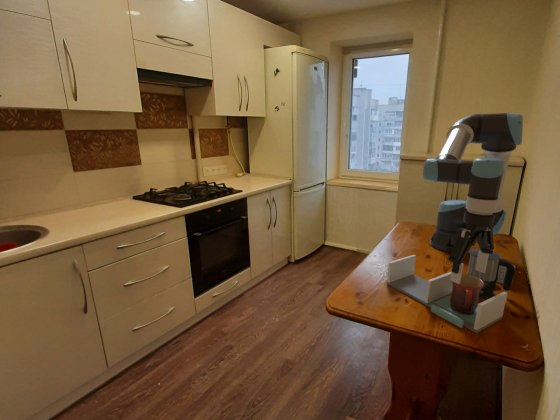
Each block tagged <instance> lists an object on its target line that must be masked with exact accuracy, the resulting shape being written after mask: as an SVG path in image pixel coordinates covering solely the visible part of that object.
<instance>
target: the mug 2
mask: <svg viewBox="0 0 560 420" xmlns="http://www.w3.org/2000/svg"><path fill="white" fill-rule="evenodd" d="M513 266H514V268H515V269H516V267H517V266H516V265H515V264H513ZM506 270H507V268H506V267H505V266H499V271H498V276H497V277H498V280H497V282H496V283H498V284H502V285H503V281H504V277H505V273H506ZM513 281H514V279H513V280H512V282H513Z"/></svg>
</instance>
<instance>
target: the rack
mask: <svg viewBox="0 0 560 420" xmlns="http://www.w3.org/2000/svg"><path fill="white" fill-rule="evenodd" d="M416 259H417V255H415V254H412V255H409V256H405V257H401V258H399V259H398V258H397V259H394V260H392V261H389V262H388V269H387V279H386V285H388V286H390V287H391V288H393V289H396V290H397V291H399V292H401V293H402V294H404V295H406V296H408V297H410V298H411V299H413V300H415V301H418V302H419V303H421V304H423V305H424V306H425V307H428V308H430V312H431V313H433V314H434V315H436V316H439V317H441V319H444V320H446V321H448V322H450V323H451V324H453V325H455V326H457V327H458V328H460V329H463V328H467V329H468V330H470V331H472V332H474V333H475V334H478V333H480V332H481V331H483V330H485V329H487V328H489V327H491V326H492V325H494V324H495V323H497V322H499V321H501V320H502V319H503V315H504V311H505V306H506V303H507V297H508V292H507V291H503V292H500V293H498V294H496V295H493V296H492V297H489V298H488V299H486V300H484V301H482V302H480V303H478V304H477V308H476V311H475V312H474V313H472V314H462V313H459V312H457V311H455V310H454V309H453V308H452V307H451V305H450V298H451V293H452V288H453V284H452V281H451V280H450V277H451V271H449V272H447V273H444V274H441V275H438V276H436V277H433V278H431V279H425V278H422V277H420V276H418V275H417V274H415V267H416Z"/></svg>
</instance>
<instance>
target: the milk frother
mask: <svg viewBox="0 0 560 420" xmlns="http://www.w3.org/2000/svg"><path fill="white" fill-rule="evenodd" d="M479 251H481V250H480V248H479V249H478V248H474V249H470V250H469V252H468V253H469V254H470V255H469V261H468V268H467V275H471V276H474V277H477V278H479V279H480V280H482V281H483V282H484V286H483V288H482V289H481V291H480V293H479V298H485V299H486V298H488V299H490V298H492V297H494V296H495V294H494V292H495V291H496V286H497V283H498V282H497V280H498V277H497V276H498V271H499V266H505V267H506V268H507V270H506V273H505V277H504V281H503V284H502V289H503V290H504V292H508V291H510V290H511V287H512V284H513V281H514V276H515V273H516V268H514V266H513V265H514V264H513V263H512V262H511V261H510V260H508V259H505V258H502V256H501V254H499V253H498V252H495V251H493V253H492V254H490V253H488V254H489V256H488V261H487V266H486V271H485V273H482V272H480V271H477V270H475V268H476V263H477V257H478V252H479ZM481 252H482V251H481ZM512 280H513V281H512Z"/></svg>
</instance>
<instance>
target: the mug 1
mask: <svg viewBox="0 0 560 420" xmlns="http://www.w3.org/2000/svg"><path fill="white" fill-rule="evenodd" d="M452 284H453V288H452V293H451V298H450V305H451V307H452V308H453V309H454V310H455V311H457V312H459V313H462V314H472V313H474V312H475V311H476V308H477V304H479V298H480V297H479V293H480V291H481V289H482V288H483V286H484V282H483V281H482V280H480V279H479V278H477V277H474V276H471V275H467V274H466V273H462V276H461V281H460V284H457V283H455V282H453V281H452Z"/></svg>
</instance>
